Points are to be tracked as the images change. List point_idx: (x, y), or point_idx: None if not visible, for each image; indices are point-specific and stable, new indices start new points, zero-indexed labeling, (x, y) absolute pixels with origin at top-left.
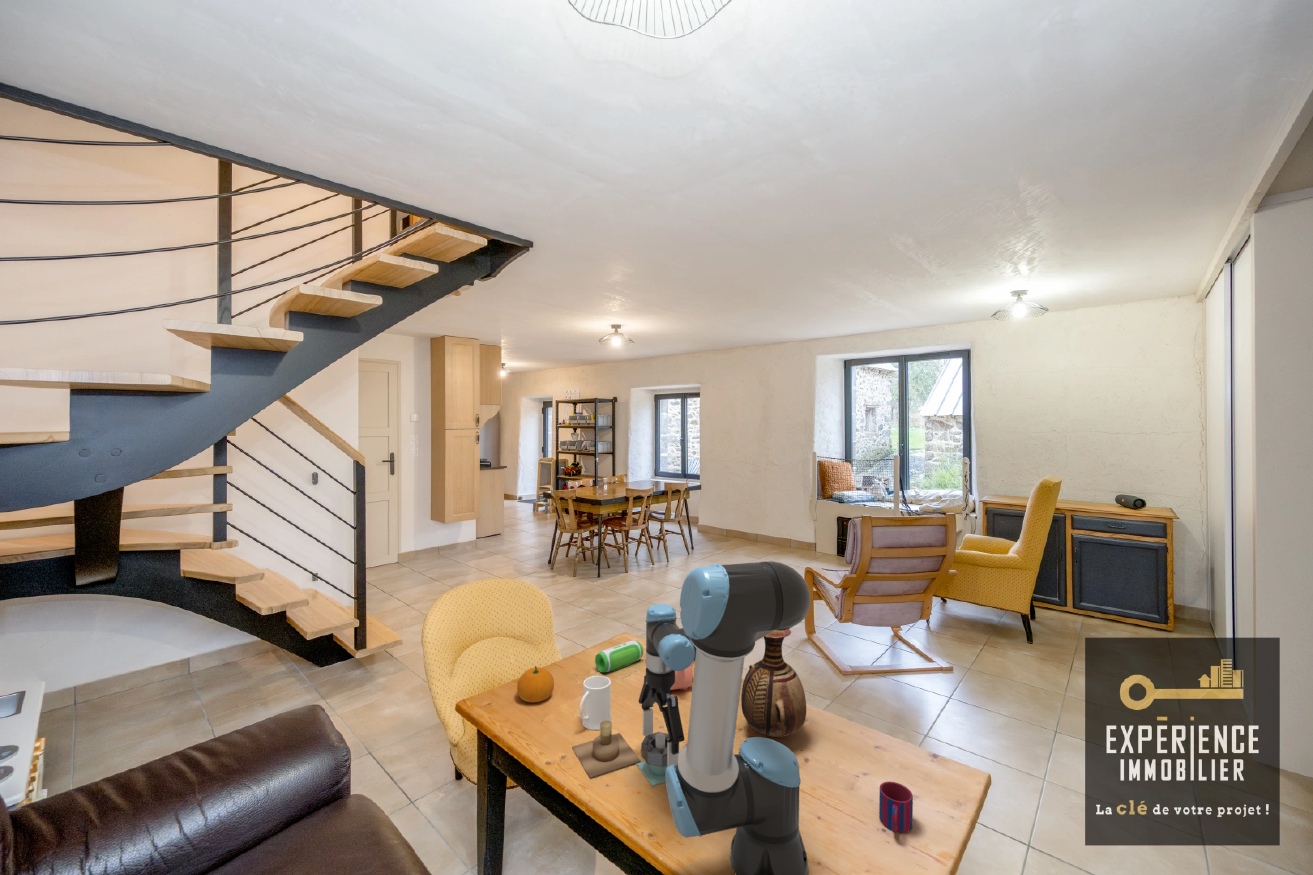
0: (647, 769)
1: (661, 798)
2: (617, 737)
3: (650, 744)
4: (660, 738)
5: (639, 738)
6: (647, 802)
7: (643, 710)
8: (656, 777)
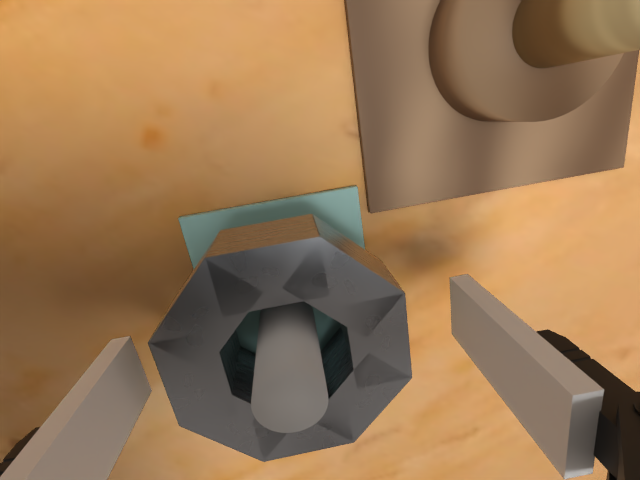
0: None
1: (89, 233)
2: (593, 146)
3: (292, 297)
4: (253, 393)
5: (535, 250)
6: (69, 160)
7: (616, 385)
8: None
